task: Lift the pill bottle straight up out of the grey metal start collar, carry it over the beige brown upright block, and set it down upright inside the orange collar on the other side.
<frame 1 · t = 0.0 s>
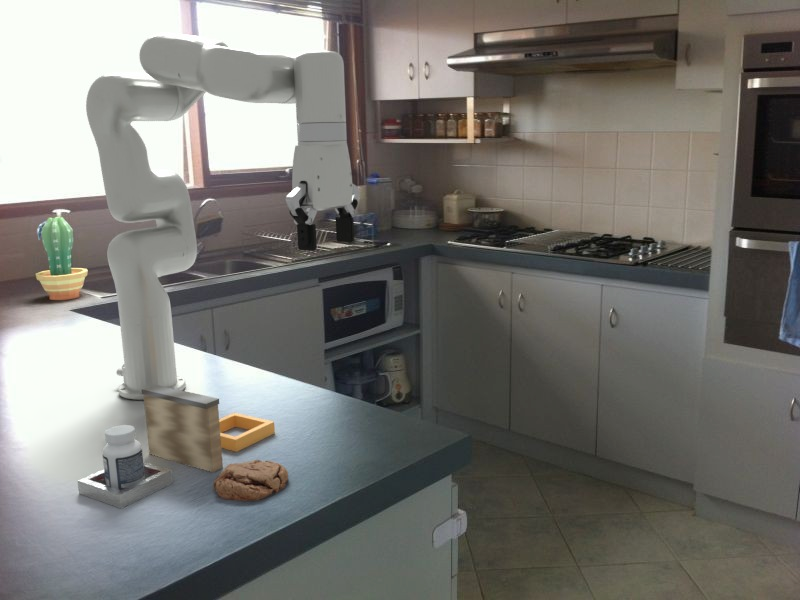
hand: (327, 245, 126), 31 cm above the worktop, fingers open, 9 cm apart
start collar: (126, 488, 113), on the worktop
beige brown upright block: (185, 460, 122), on the worktop
cookie: (251, 488, 113), on the worktop
pill bottle: (126, 489, 113), resting in start collar
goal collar: (235, 437, 131), on the worktop
potted cactus: (64, 297, 250), on the worktop
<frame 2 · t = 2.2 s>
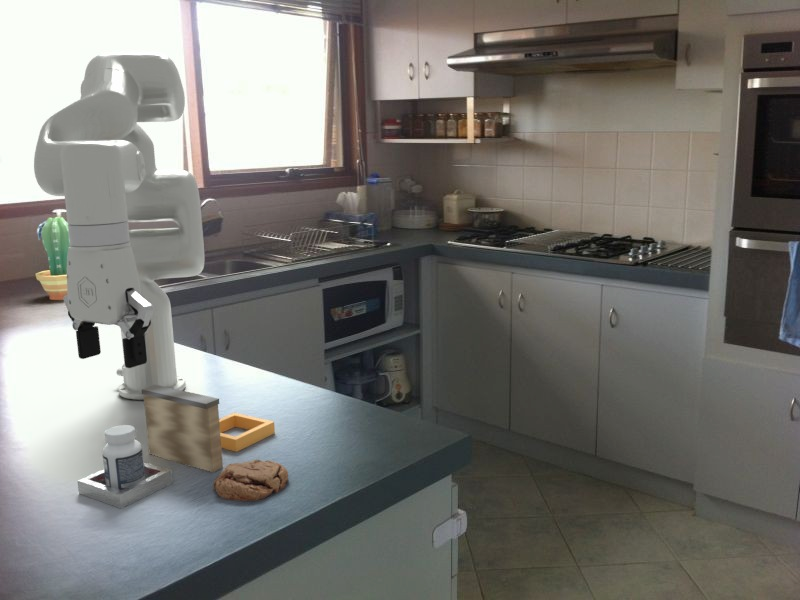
hand: (112, 360, 109), 19 cm above the worktop, fingers open, 9 cm apart
nothing on the worktop moved.
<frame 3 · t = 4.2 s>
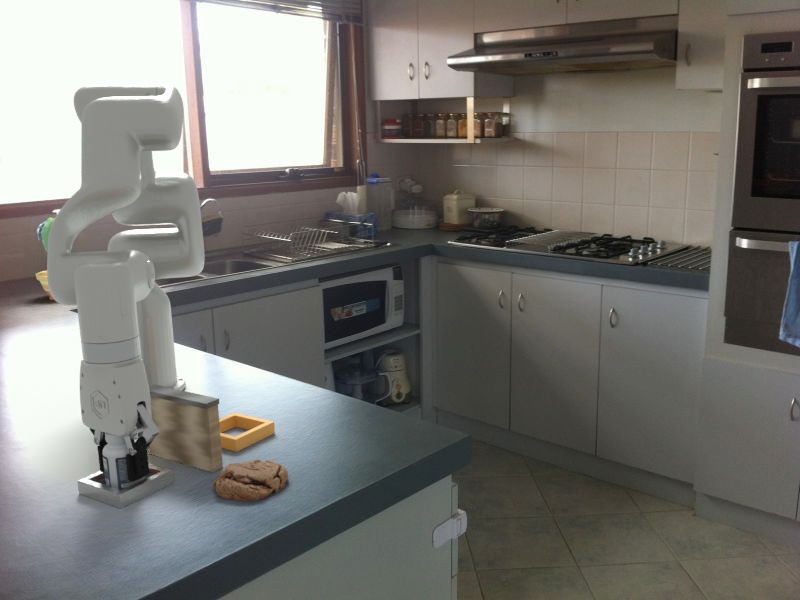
hand: (124, 472, 113), 3 cm above the worktop, fingers closed on pill bottle, 5 cm apart
pill bottle: (126, 489, 113), resting in start collar, touching gripper
everything else where it was.
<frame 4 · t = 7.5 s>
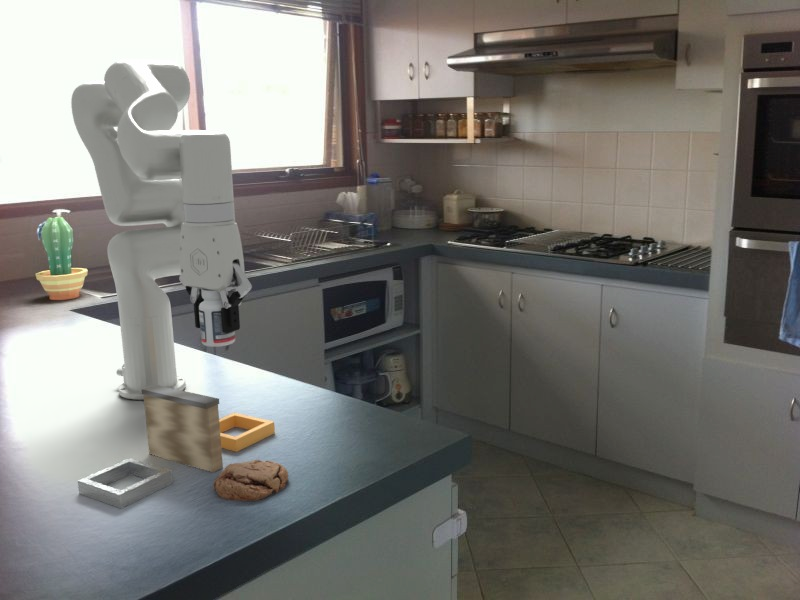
hand: (217, 327, 126), 19 cm above the worktop, fingers closed on pill bottle, 5 cm apart
pill bottle: (218, 344, 127), point 16 cm above the worktop, touching gripper
everything else where it was.
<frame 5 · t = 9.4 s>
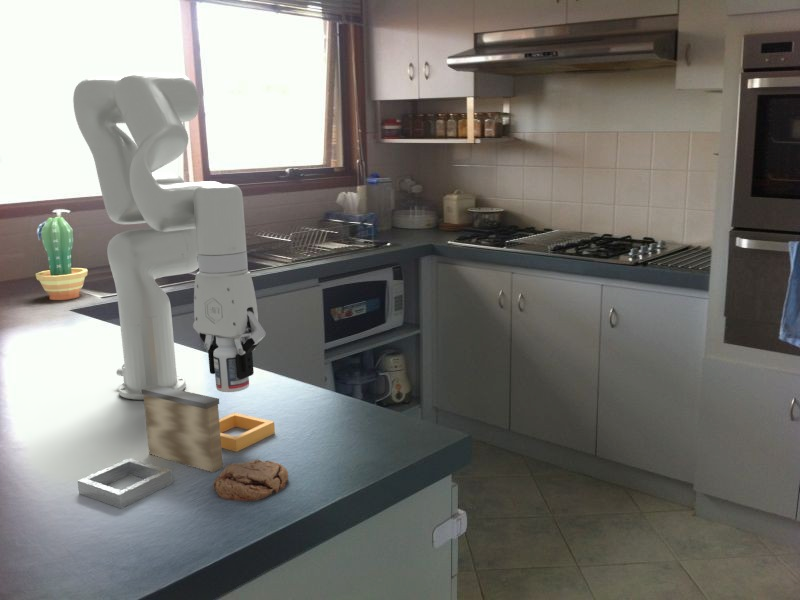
hand: (231, 373, 129), 11 cm above the worktop, fingers closed on pill bottle, 5 cm apart
pill bottle: (232, 389, 129), point 8 cm above the worktop, touching gripper
everything else where it was.
when the fingers open (4 cm above the worktop, at t = 11.1 s): pill bottle drops 1 cm, resting in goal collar.
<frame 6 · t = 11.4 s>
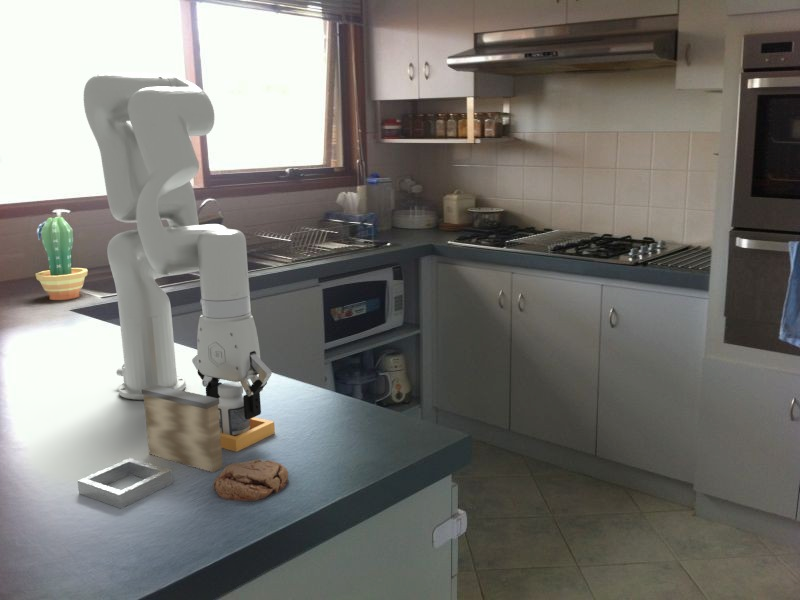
hand: (234, 411, 130), 4 cm above the worktop, fingers open, 7 cm apart
pill bottle: (234, 437, 132), resting in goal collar
everything else where it was.
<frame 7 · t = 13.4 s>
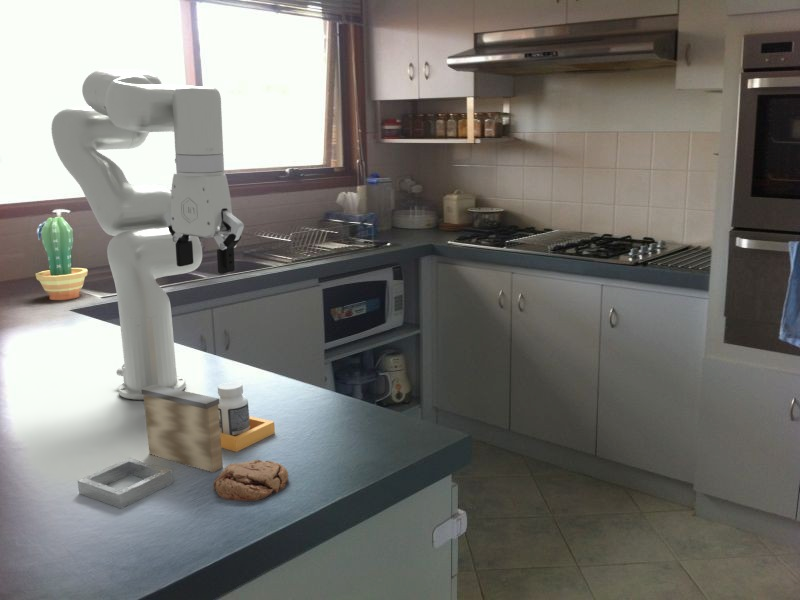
hand: (205, 268, 133), 27 cm above the worktop, fingers open, 9 cm apart
nothing on the worktop moved.
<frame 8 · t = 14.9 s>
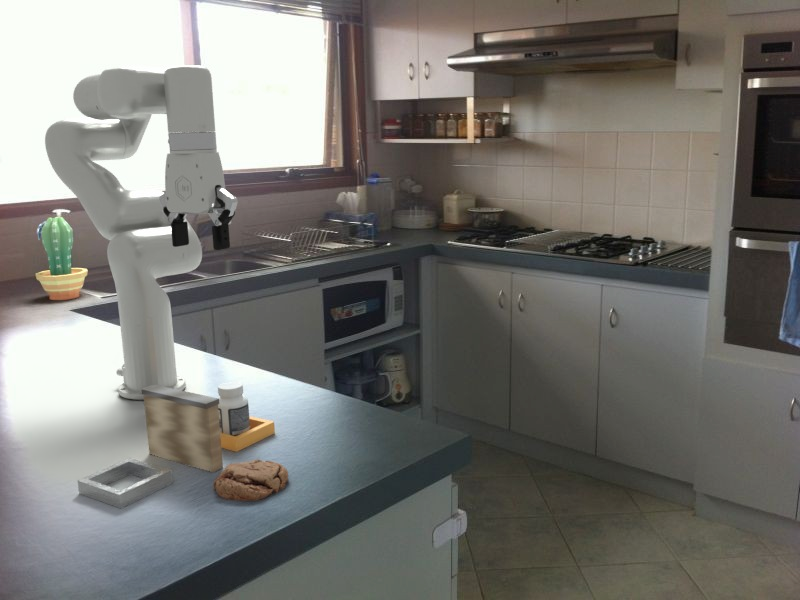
hand: (201, 247, 134), 30 cm above the worktop, fingers open, 9 cm apart
nothing on the worktop moved.
at the end: pill bottle 0.4 cm off-centre on the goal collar, point 0.0 cm above the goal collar's base; pill bottle tilted 0°; the gripper is holding nothing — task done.
